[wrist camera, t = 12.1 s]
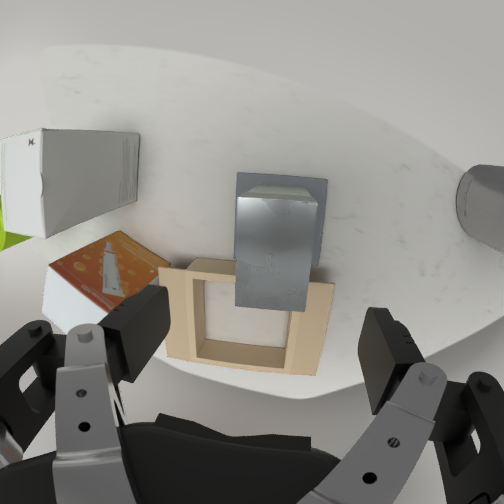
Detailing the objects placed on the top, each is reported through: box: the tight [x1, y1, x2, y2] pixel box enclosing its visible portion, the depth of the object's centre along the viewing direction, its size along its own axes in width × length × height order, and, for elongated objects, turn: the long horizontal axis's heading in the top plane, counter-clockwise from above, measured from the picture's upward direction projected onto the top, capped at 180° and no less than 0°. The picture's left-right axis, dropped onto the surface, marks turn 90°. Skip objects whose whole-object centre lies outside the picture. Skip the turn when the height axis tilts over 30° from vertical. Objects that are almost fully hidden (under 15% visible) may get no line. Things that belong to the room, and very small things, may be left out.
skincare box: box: [0, 128, 139, 239], centre depth 23 cm, size 8×7×16 cm
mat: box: [234, 173, 328, 266], centre depth 29 cm, size 9×9×1 cm
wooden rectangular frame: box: [158, 258, 335, 376], centre depth 31 cm, size 18×12×4 cm, turn 87°
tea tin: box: [235, 184, 317, 312], centre depth 23 cm, size 5×7×12 cm, turn 178°
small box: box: [42, 231, 170, 335], centre depth 27 cm, size 8×6×13 cm
